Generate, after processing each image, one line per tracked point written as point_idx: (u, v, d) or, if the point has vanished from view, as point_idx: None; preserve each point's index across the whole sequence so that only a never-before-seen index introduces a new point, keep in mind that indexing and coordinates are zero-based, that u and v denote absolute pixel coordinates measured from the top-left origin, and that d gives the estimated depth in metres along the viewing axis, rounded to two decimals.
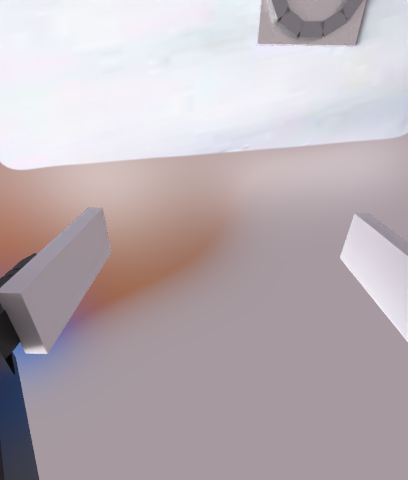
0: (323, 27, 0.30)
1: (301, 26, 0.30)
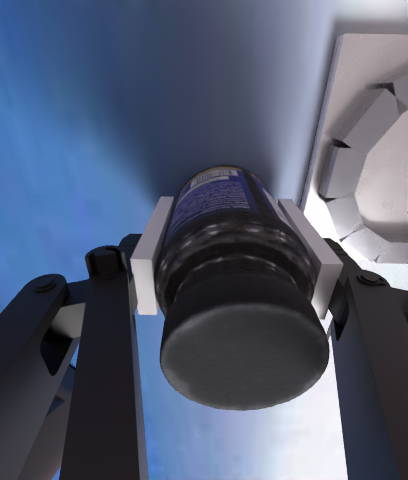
0: None
1: None
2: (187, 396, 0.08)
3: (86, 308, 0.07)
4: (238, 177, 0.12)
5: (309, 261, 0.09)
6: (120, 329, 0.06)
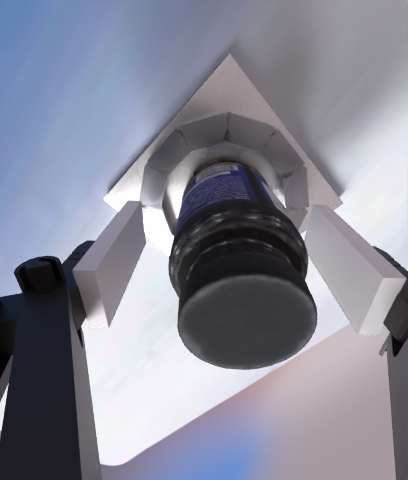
0: None
1: None
2: (200, 357, 0.09)
3: (19, 328, 0.07)
4: (239, 171, 0.14)
5: (301, 243, 0.10)
6: (59, 344, 0.06)
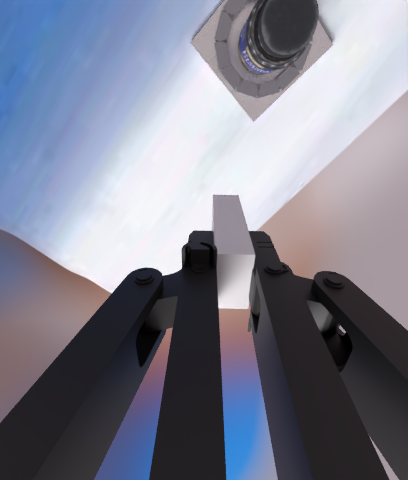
0: (295, 66, 0.30)
1: (277, 83, 0.31)
2: (268, 44, 0.22)
3: (178, 297, 0.08)
4: None
5: None
6: (209, 324, 0.07)
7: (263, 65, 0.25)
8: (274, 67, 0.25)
